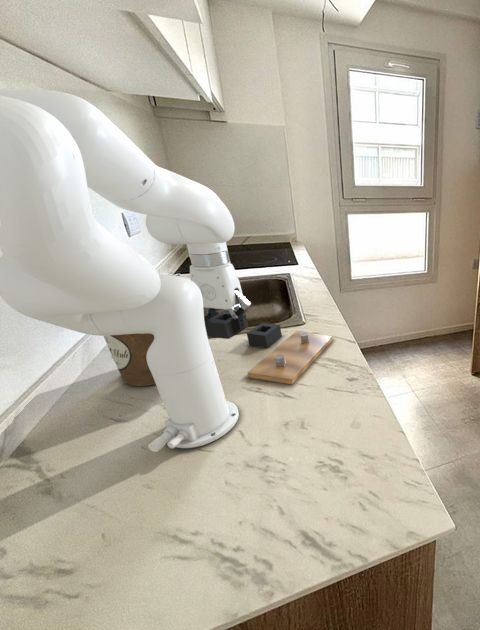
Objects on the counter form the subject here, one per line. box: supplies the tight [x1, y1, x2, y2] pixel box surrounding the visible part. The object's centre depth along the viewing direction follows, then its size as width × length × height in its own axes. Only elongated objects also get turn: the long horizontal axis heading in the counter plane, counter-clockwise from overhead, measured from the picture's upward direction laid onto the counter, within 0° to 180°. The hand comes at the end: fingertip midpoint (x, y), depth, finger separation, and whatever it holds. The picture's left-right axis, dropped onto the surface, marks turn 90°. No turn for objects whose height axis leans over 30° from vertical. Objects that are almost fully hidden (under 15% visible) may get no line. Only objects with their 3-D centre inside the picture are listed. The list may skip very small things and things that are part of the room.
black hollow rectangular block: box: [204, 310, 249, 340], centre depth 82 cm, size 7×6×4 cm
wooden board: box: [247, 331, 334, 385], centre depth 89 cm, size 22×12×4 cm, turn 168°
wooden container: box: [103, 333, 156, 387], centre depth 80 cm, size 15×15×22 cm
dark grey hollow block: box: [246, 322, 283, 349], centre depth 97 cm, size 7×6×4 cm
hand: (227, 329), depth 82 cm, fingers closed on black hollow rectangular block, 6 cm apart
